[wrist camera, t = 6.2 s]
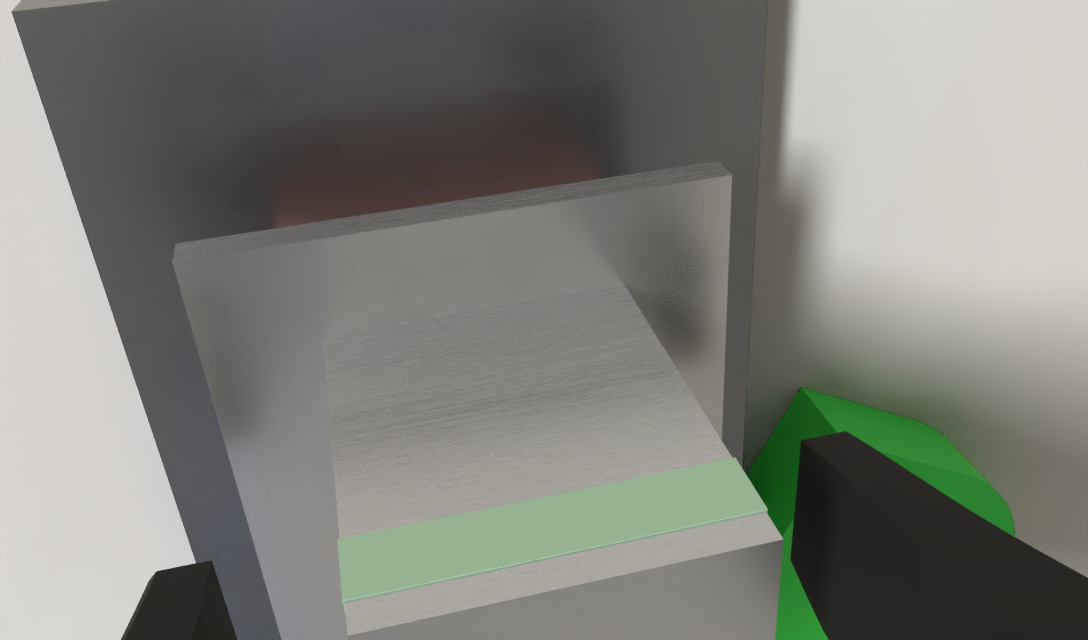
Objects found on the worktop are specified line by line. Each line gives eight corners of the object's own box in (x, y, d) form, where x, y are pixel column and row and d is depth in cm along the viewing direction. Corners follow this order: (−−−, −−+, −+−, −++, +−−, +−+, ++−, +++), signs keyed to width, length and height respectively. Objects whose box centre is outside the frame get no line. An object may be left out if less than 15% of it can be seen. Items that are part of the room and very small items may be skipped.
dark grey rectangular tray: (719, 520, 21) (791, 649, 18) (231, 624, 20) (225, 784, 17) (743, -86, 15) (858, -39, 12) (28, -8, 13) (-42, 70, 10)
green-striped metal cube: (631, 510, 16) (762, 800, 11) (369, 565, 15) (407, 894, 11) (625, 283, 13) (785, 538, 9) (320, 335, 13) (345, 634, 9)
